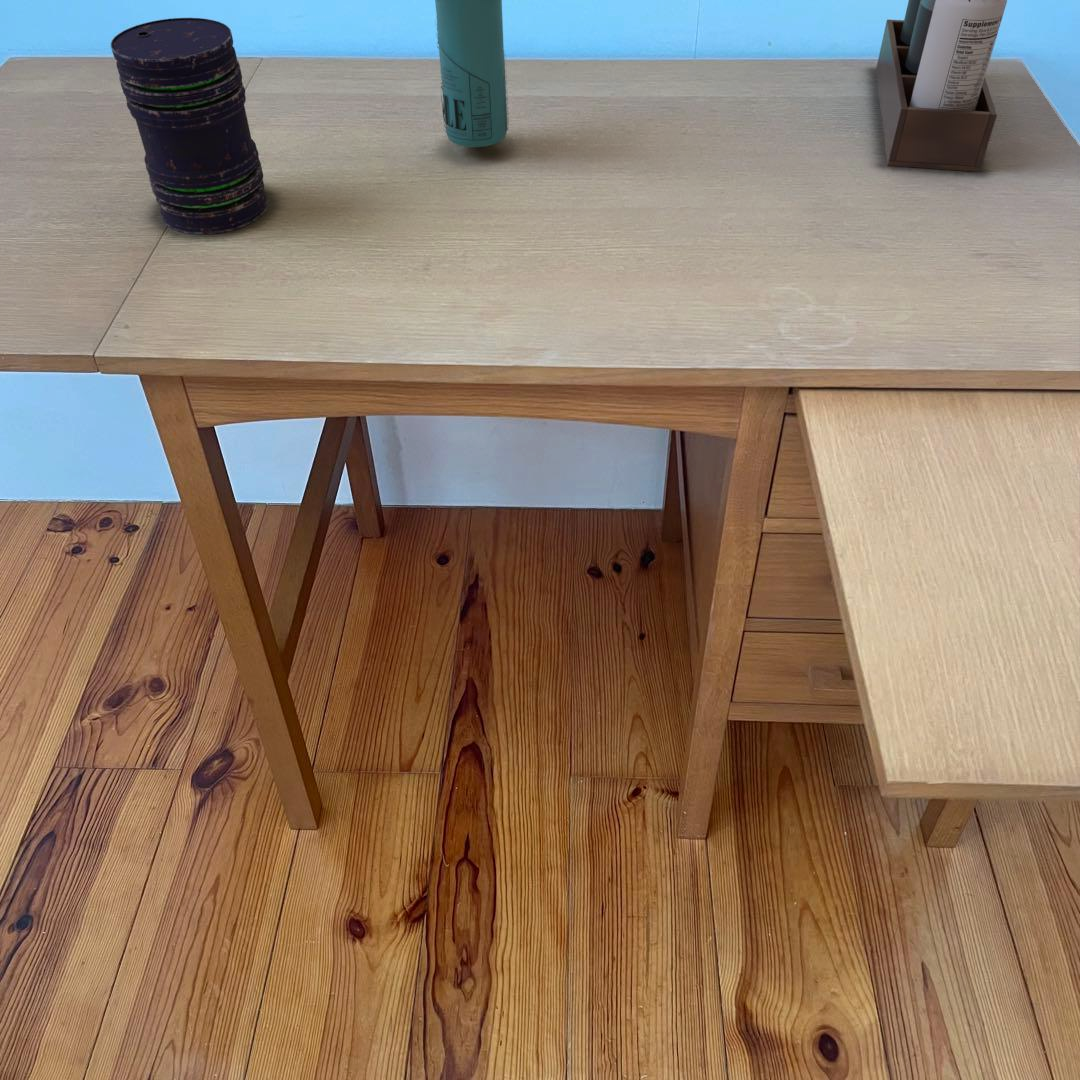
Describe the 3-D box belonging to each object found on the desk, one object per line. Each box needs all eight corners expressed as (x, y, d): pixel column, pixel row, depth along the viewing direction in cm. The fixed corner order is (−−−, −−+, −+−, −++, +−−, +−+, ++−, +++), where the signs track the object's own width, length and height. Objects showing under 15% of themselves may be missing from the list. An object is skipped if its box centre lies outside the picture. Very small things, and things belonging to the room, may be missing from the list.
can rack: (953, 75, 114) (967, 23, 110) (979, 172, 97) (997, 114, 93) (875, 70, 115) (886, 19, 111) (887, 165, 98) (901, 108, 94)
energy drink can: (939, 126, 102) (984, -38, 92) (976, 150, 98) (1028, -18, 88) (888, 135, 101) (928, -30, 90) (924, 160, 97) (970, -10, 86)
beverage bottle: (520, 141, 103) (514, -83, 88) (491, 168, 98) (480, -63, 84) (464, 130, 105) (449, -90, 90) (432, 156, 100) (412, -71, 86)
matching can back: (958, 83, 111) (1000, -71, 100) (925, 98, 108) (966, -59, 97) (911, 68, 114) (948, -83, 103) (879, 82, 111) (913, -72, 101)
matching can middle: (965, 113, 105) (1012, -48, 94) (931, 129, 102) (975, -34, 92) (917, 96, 108) (956, -61, 98) (882, 111, 106) (919, -49, 95)
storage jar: (289, 194, 95) (256, 25, 84) (230, 243, 89) (185, 67, 78) (201, 177, 98) (158, 11, 87) (137, 223, 91) (82, 50, 81)
